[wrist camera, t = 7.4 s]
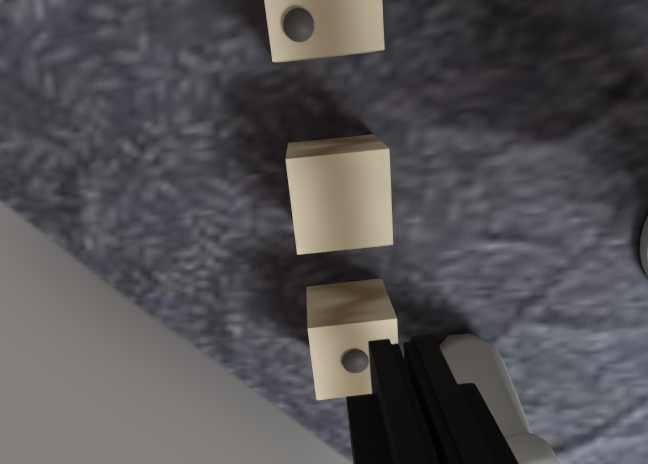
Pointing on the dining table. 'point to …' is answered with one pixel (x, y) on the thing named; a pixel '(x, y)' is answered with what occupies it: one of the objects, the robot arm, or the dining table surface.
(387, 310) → the one dot block
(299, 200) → the plain block
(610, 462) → the dining table surface
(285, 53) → the two dot block
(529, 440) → the salt shaker
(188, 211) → the dining table surface
